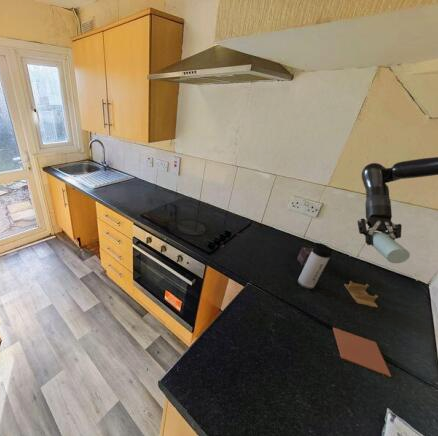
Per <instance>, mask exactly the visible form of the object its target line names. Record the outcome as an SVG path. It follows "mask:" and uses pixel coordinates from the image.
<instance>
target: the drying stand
mask: <svg viewBox="0 0 438 436" xmlns="http://www.w3.org/2000/svg"><path fill="white" fill-rule="evenodd" d="M343 285H344V287H345V288H346V290H347V291H348V292H349V294H350V295H351V297H352V298H353V300H354V301H355V302H356V303H357V304H360V305H364V306H368V307H372V308H373V307H374V308H378V307H379V306H378V305H377V303H376V302H375V301H377V299H378V298H379V295H377V294H374V295H371V294H369V293H368V292H367V289H368V288H369V287H370V284H368V283H366V284H360V283H356V282H353V281H352V280H349V284H348V283H344V284H343Z"/></svg>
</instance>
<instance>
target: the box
mask: <svg viewBox="0 0 438 436" xmlns="http://www.w3.org/2000/svg"><path fill="white" fill-rule="evenodd" d="M312 250H313V248H312V247H302V246H301V248H300V251H299V253H298V255H297V256H296V257H297V258H296V259H297V261H298V262H299V263H300V265H301V266H302V267H304V266H305V264H306V262H307V260H308V258H309V256H310V254H311V252H312Z"/></svg>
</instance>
